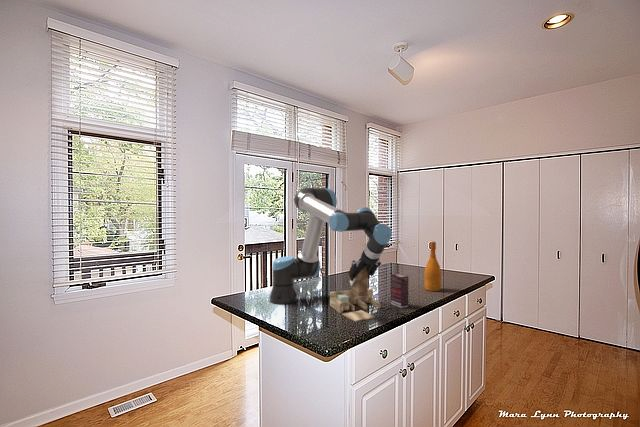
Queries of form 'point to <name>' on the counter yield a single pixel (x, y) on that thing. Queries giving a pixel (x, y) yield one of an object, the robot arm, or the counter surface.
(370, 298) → the rack
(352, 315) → the cork pad
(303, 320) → the counter surface
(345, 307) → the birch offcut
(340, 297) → the sage offcut
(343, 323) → the counter surface
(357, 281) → the brown rectangular block
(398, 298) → the supplement box
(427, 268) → the wine bottle
